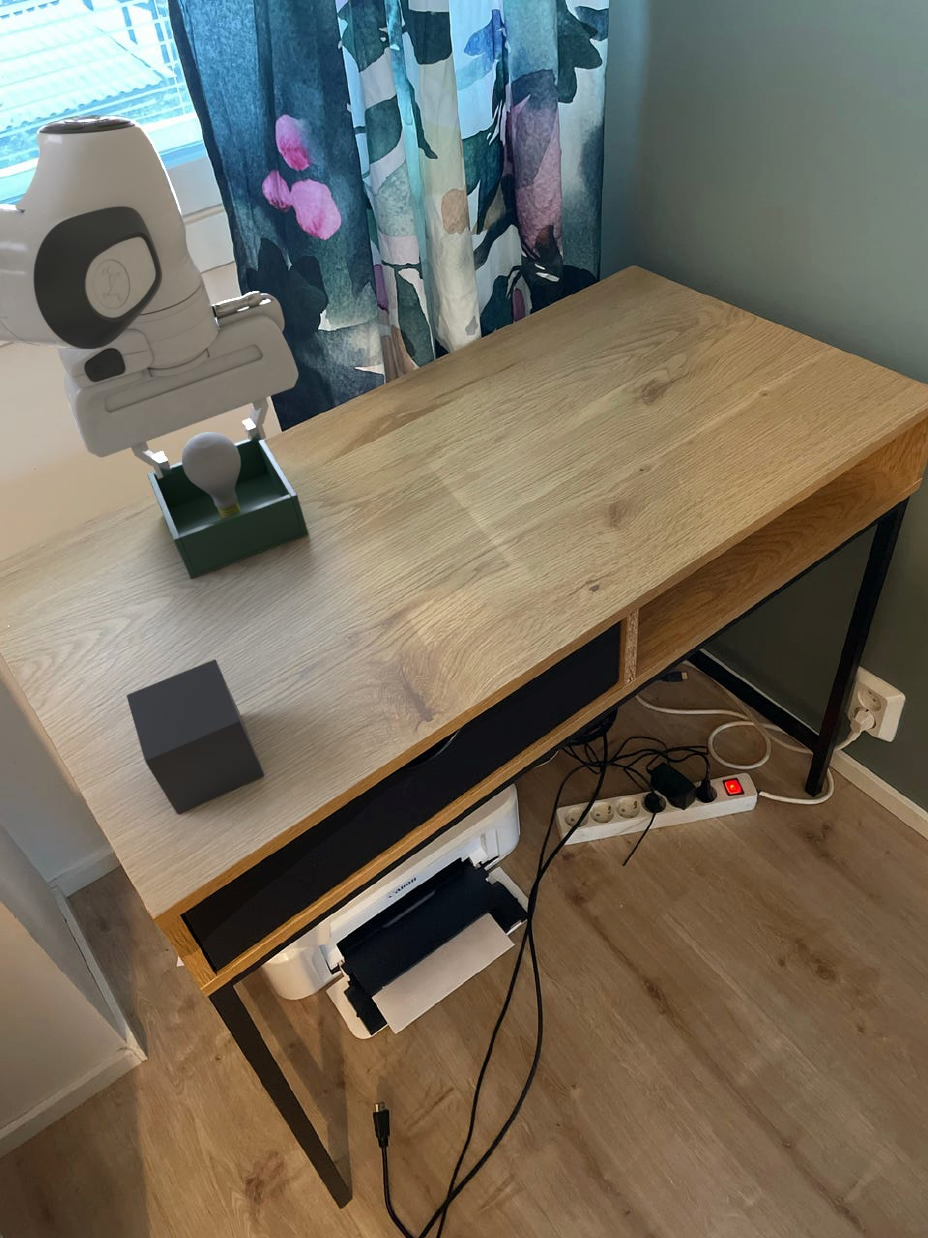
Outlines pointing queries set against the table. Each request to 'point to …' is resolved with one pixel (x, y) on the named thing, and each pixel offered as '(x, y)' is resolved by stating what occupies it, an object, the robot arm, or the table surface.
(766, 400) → the table surface
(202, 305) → the robot arm
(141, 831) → the table surface
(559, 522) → the table surface
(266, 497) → the green open square box
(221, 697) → the block
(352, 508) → the table surface
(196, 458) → the light bulb
